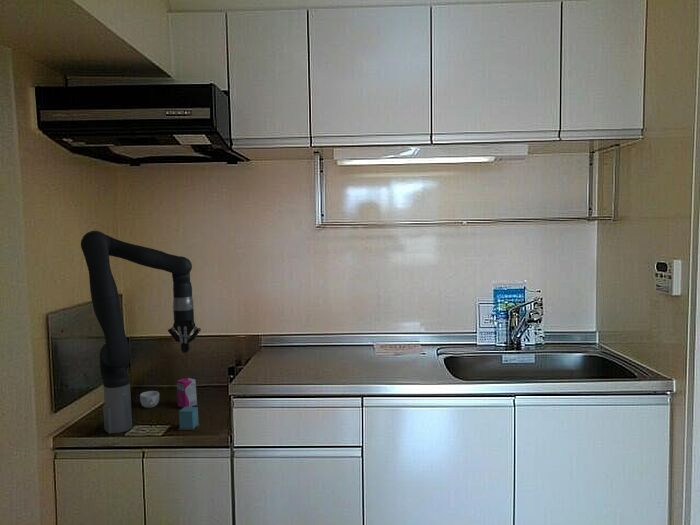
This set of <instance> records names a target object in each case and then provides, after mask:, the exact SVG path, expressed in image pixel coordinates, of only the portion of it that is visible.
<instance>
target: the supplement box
mask: <svg viewBox="0 0 700 525" xmlns="http://www.w3.org/2000/svg"><path fill="white" fill-rule="evenodd" d="M196 385H197V383H196V379H195V378H190V377H186V378H182V379H178V380H176V394H177V407H178V408H180V409H183V408H184V407H198V399H197V398H198V397H197V386H196Z"/></svg>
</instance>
